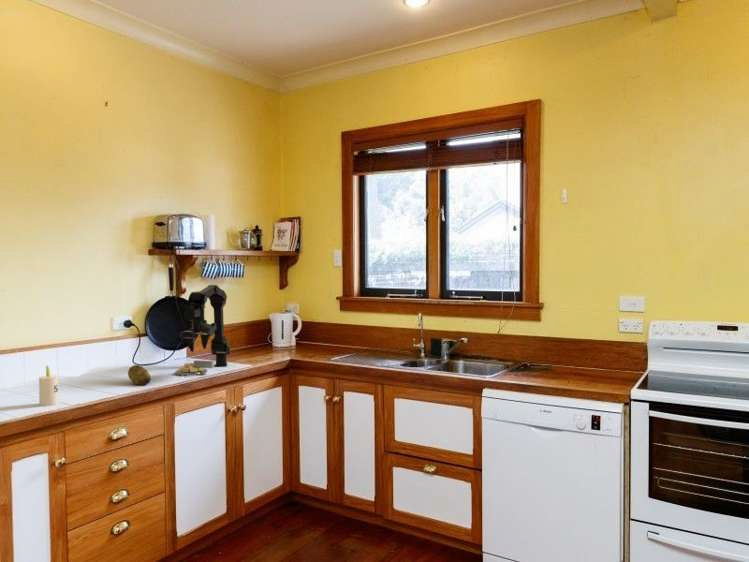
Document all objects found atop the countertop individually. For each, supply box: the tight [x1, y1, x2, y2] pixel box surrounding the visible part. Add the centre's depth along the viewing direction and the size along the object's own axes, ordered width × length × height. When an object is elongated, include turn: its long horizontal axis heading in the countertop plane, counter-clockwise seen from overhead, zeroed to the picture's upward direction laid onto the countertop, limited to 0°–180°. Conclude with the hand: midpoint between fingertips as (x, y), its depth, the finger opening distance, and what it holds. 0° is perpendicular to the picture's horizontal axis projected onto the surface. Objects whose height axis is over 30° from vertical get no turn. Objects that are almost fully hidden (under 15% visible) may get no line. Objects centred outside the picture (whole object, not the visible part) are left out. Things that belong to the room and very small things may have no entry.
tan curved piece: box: [178, 359, 215, 372], centre depth 282 cm, size 18×11×5 cm, turn 75°
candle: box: [38, 365, 59, 407], centre depth 219 cm, size 6×6×15 cm
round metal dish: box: [174, 367, 208, 377], centre depth 282 cm, size 15×15×3 cm
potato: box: [127, 364, 152, 386], centre depth 257 cm, size 8×13×8 cm, turn 33°
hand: (198, 350), depth 274 cm, fingers open, 9 cm apart
